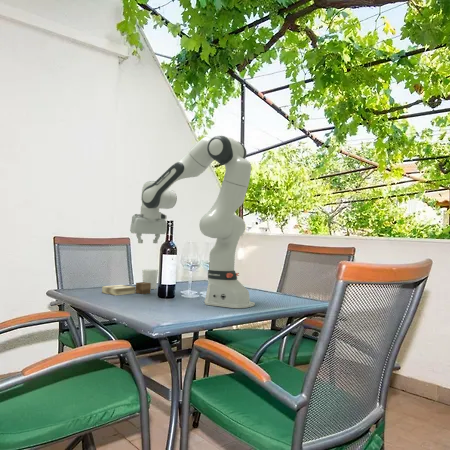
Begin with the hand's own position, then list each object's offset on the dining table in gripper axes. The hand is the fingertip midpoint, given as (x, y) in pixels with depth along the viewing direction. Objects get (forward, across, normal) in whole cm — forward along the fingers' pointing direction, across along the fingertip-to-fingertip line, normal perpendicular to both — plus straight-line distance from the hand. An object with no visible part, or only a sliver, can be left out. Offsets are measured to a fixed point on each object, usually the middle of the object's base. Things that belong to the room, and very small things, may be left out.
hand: (147, 243), depth 205 cm
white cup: (+25, +11, +9) cm, 29 cm away
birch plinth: (+24, -10, +7) cm, 27 cm away
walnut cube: (+24, -1, 0) cm, 24 cm away
